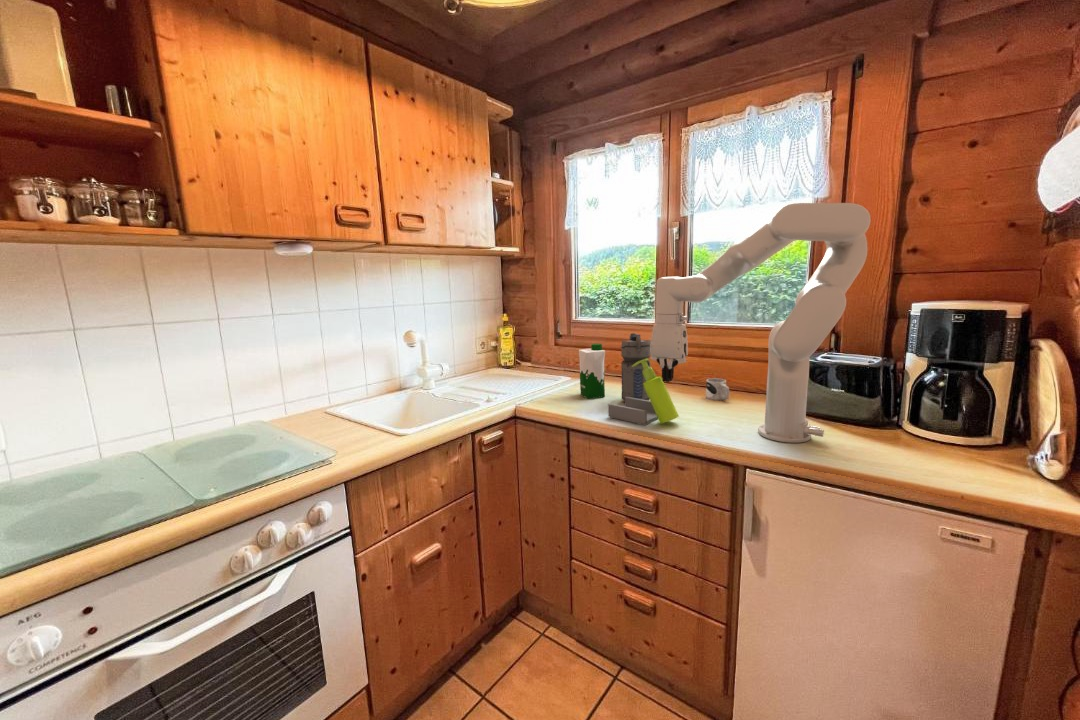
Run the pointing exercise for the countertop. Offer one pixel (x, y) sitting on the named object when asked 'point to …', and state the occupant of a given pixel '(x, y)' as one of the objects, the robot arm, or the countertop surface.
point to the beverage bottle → (633, 375)
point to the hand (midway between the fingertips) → (667, 380)
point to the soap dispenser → (658, 394)
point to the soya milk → (592, 372)
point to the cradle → (633, 411)
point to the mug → (716, 389)
